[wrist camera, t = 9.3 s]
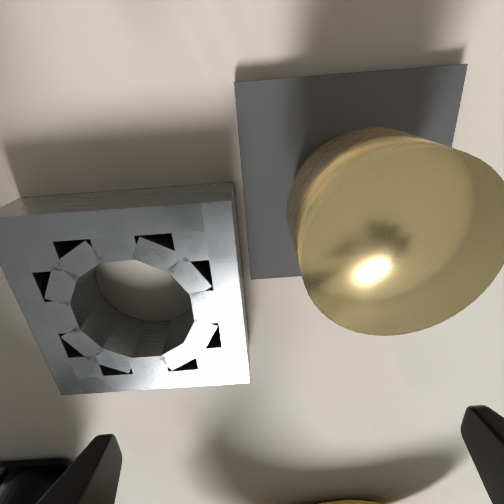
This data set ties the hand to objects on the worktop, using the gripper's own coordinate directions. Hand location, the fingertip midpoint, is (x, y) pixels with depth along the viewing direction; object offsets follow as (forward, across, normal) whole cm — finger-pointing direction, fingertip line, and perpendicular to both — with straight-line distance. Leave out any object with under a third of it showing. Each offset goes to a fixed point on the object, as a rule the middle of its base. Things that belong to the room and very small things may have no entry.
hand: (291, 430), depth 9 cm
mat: (+11, -4, -3) cm, 12 cm away
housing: (+12, +7, +2) cm, 13 cm away
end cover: (+10, -4, -3) cm, 12 cm away
